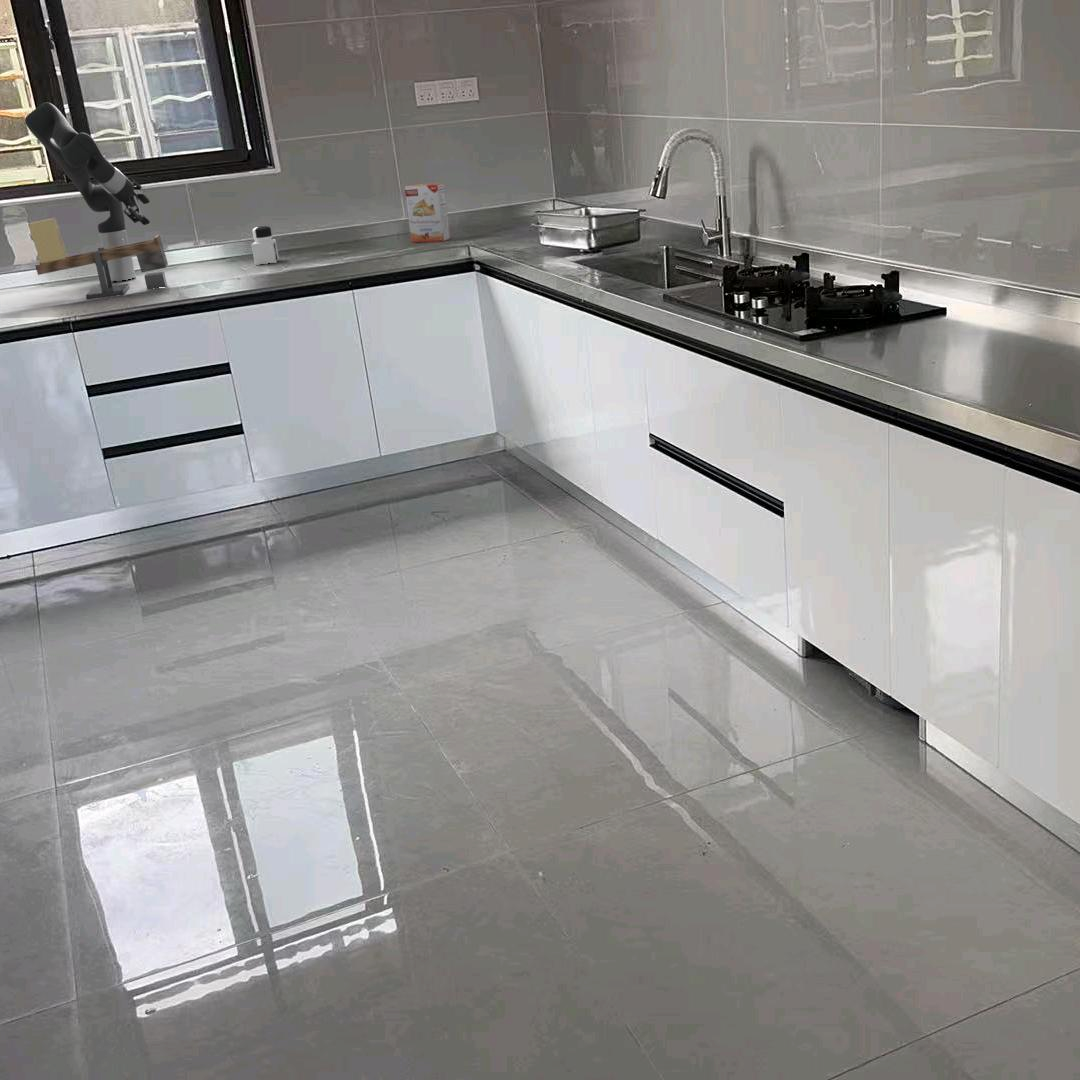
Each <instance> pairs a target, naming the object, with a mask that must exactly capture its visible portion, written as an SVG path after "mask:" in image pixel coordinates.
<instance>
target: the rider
mask: <svg viewBox="0 0 1080 1080" xmlns="http://www.w3.org/2000/svg"><path fill="white" fill-rule="evenodd" d="M58 224H59V223H58V221H57V218H56V217H51V218H48V219H43V220H37V221H33V222H32V221H31V222H30V223H28V224H27V226H28V229H29V231H30V235H31V237H32V240H33V241H32V242H33V243H34V244H33V245H34V247H35V249H36V250H35V251H36V252H37V256H38V259H39V261H40V262H41V264H45V263H49V262H54V261H59V260H64V259H69V258H68V257H69V255H68V252H67V249H66V245H65V242H64V240H63V237H62V234H61V230H60V228H59V225H58ZM40 262H39V263H40Z"/></svg>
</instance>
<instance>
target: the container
mask: <svg viewBox="0 0 1080 1080" xmlns="http://www.w3.org/2000/svg"><path fill="white" fill-rule="evenodd" d="M251 231H252V236H253V240H254V242H252V243H251V245H250V246H251V250H252V256H253V261H254V265H255V266H261V265H260V264H265V265H269V264H268V263H275V264H277V263H278V262H279V261H280V257H279V251H278V244H277V240H276V239H272V238H273V235H272V228H271V226H267V225H265V226H263V225H262V226H256V227H254V228H253V229H252V230H251ZM278 260H279V261H278ZM277 261H278V262H277Z"/></svg>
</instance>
